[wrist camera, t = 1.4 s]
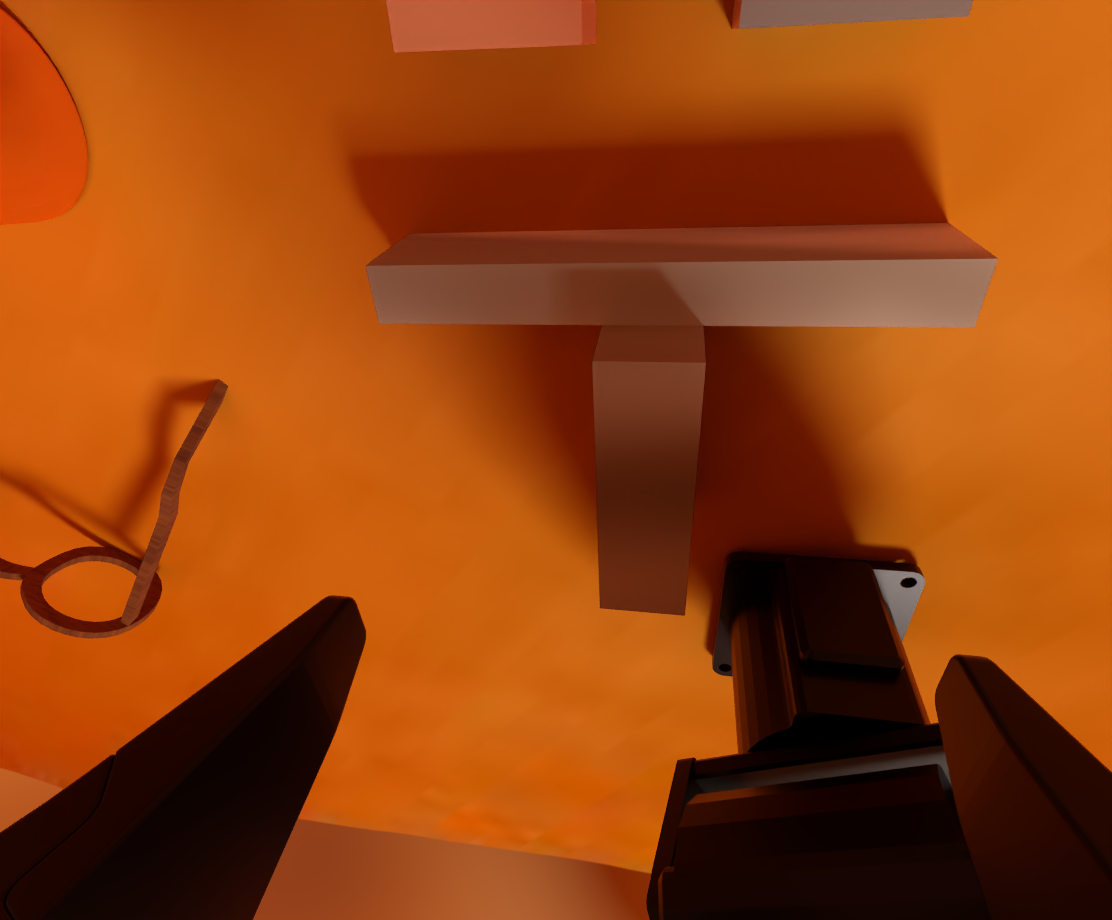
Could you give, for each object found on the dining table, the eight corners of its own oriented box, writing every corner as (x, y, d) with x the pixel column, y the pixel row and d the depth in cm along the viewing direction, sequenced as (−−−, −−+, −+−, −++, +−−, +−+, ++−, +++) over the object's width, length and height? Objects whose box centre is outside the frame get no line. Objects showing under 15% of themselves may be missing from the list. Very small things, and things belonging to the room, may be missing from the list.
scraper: (863, 514, 20) (907, 634, 16) (459, 491, 23) (410, 591, 19) (947, 221, 15) (1044, 292, 11) (409, 233, 17) (326, 293, 13)
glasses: (-96, 441, 27) (-232, 513, 23) (-138, 170, 20) (-349, 205, 16) (186, 579, 29) (107, 666, 25) (243, 381, 22) (144, 460, 18)
